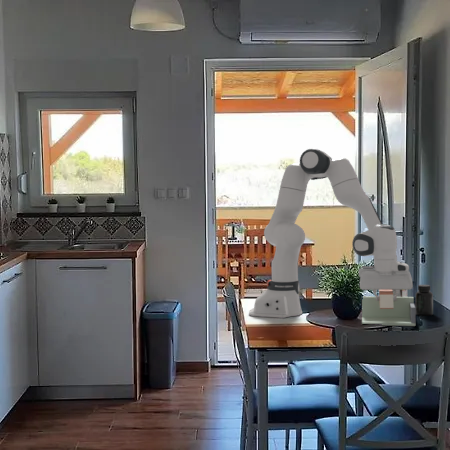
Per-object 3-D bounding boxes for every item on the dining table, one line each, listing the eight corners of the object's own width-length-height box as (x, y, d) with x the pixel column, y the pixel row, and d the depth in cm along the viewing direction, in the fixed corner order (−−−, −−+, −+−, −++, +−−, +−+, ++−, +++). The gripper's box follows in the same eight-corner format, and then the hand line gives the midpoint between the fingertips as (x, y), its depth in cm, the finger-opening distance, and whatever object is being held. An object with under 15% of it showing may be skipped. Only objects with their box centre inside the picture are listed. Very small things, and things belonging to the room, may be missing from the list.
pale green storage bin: (362, 324, 263) (361, 301, 263) (362, 318, 275) (362, 296, 274) (415, 325, 259) (415, 302, 259) (413, 319, 271) (413, 296, 270)
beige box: (380, 308, 263) (379, 293, 263) (379, 304, 271) (379, 289, 271) (393, 308, 262) (393, 293, 262) (392, 304, 270) (392, 289, 270)
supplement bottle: (426, 312, 284) (426, 283, 283) (436, 315, 278) (436, 286, 277) (412, 313, 282) (412, 284, 281) (422, 316, 275) (422, 287, 274)
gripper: (358, 267, 265) (359, 302, 266) (412, 266, 261) (413, 302, 262) (358, 264, 271) (359, 299, 272) (411, 264, 267) (412, 299, 268)
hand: (386, 300), depth 267 cm, fingers closed on beige box, 5 cm apart
